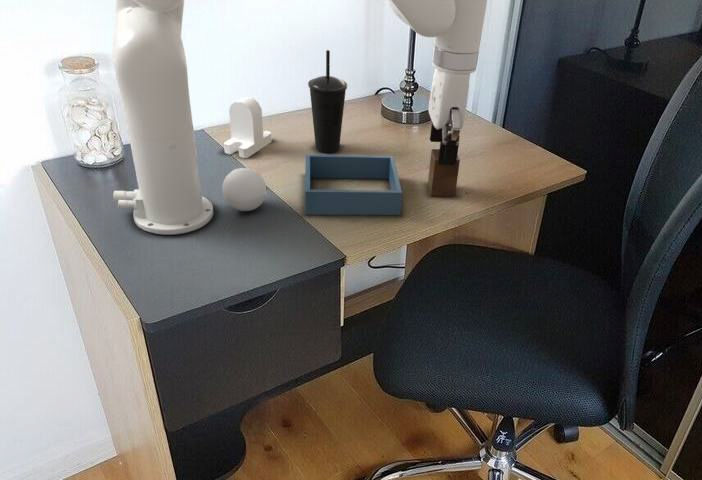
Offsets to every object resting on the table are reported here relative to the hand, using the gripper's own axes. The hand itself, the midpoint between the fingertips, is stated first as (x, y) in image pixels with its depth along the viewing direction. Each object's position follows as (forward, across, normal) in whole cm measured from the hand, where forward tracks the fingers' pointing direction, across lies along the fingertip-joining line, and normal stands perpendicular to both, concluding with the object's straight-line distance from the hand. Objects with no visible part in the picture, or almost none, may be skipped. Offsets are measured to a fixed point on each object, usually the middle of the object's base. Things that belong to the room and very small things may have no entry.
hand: (442, 152), depth 119 cm
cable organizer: (+9, -18, -36) cm, 42 cm away
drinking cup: (+8, -18, -20) cm, 29 cm away
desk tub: (+8, +2, -16) cm, 18 cm away
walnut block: (+8, 0, +1) cm, 8 cm away
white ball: (+9, +6, -35) cm, 37 cm away
